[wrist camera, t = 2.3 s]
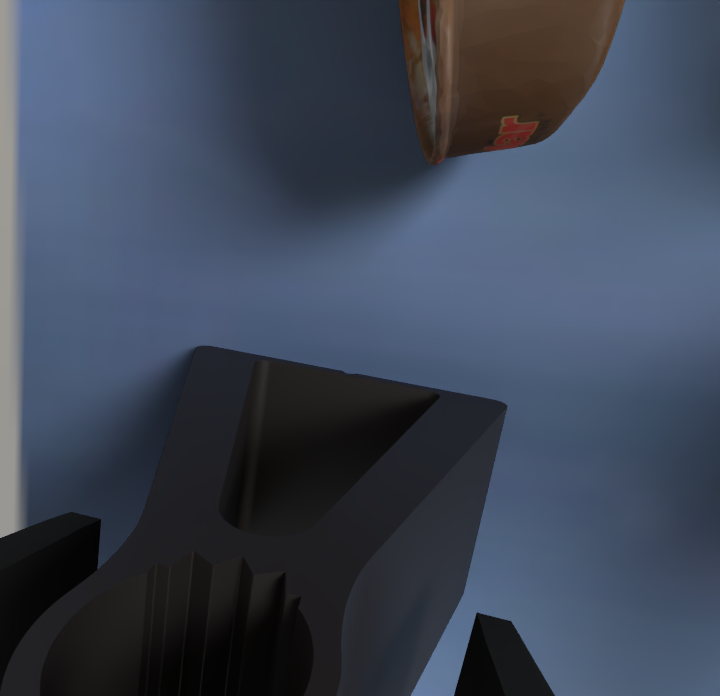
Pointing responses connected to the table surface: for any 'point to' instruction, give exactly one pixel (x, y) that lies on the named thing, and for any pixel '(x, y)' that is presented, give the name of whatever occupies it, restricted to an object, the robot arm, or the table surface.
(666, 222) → the table surface
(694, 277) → the table surface
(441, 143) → the tin
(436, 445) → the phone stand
